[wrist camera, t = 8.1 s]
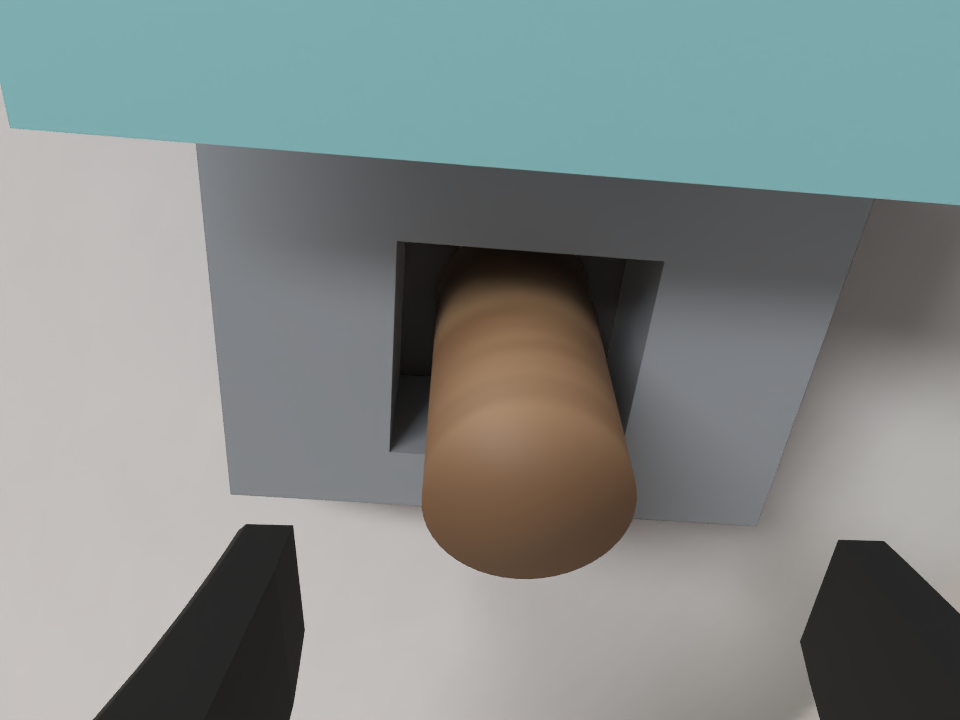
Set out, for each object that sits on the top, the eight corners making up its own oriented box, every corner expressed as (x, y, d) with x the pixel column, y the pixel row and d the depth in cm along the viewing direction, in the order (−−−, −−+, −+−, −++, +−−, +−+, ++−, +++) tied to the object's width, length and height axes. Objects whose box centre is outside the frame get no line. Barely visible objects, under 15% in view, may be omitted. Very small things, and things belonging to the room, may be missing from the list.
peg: (585, 357, 21) (629, 576, 15) (441, 362, 21) (428, 581, 15) (591, 225, 19) (645, 414, 13) (433, 229, 19) (414, 421, 13)
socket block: (883, -67, 15) (961, -43, 13) (724, 444, 22) (756, 526, 19) (221, -132, 15) (170, -120, 12) (259, 414, 21) (230, 494, 19)
